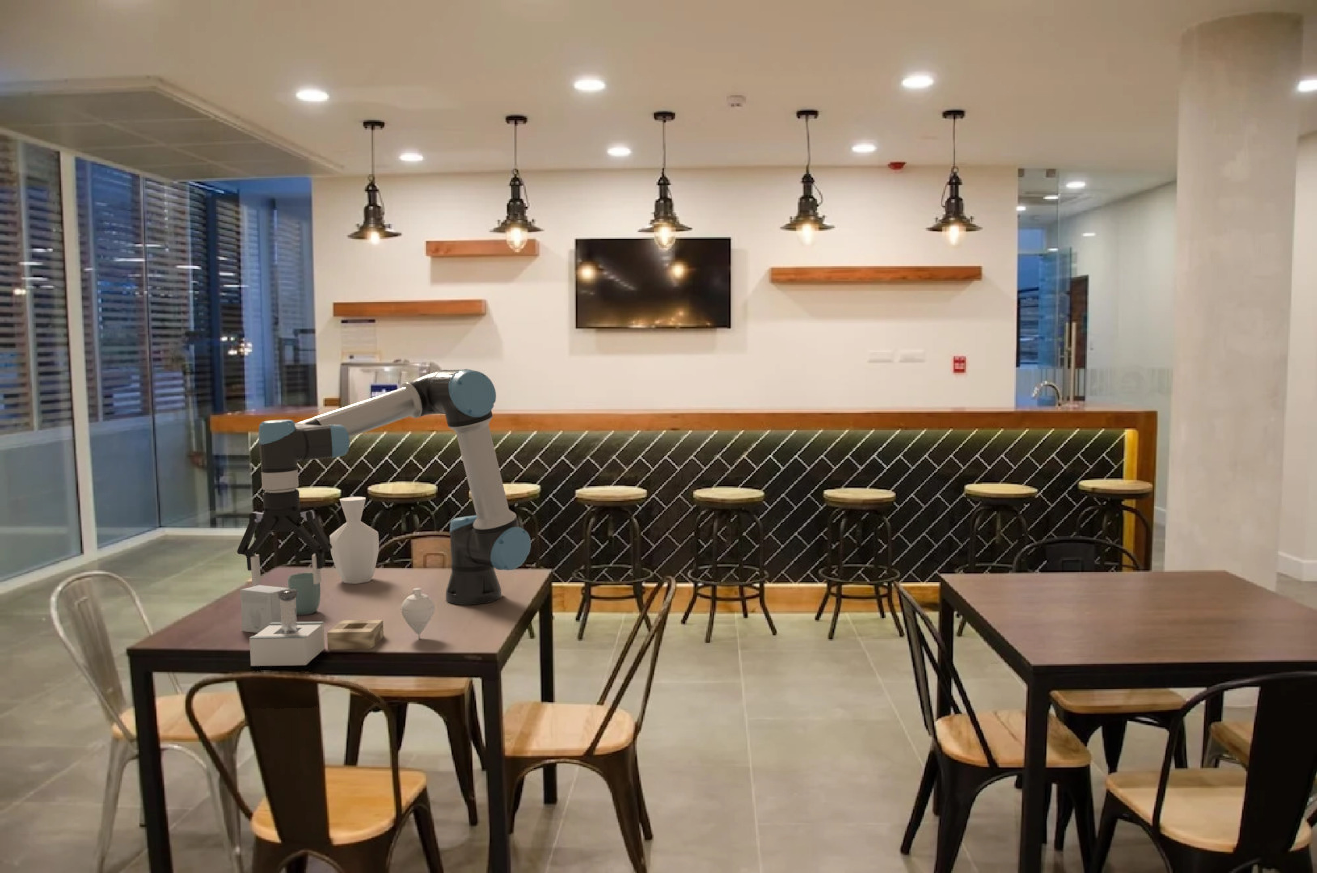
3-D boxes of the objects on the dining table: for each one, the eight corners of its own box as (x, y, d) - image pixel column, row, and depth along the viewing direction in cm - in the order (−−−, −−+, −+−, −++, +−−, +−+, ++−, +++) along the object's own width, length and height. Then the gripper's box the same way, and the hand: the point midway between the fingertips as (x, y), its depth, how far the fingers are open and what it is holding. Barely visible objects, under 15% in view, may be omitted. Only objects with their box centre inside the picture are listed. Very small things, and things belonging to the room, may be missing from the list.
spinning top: (409, 632, 229) (407, 584, 228) (439, 633, 228) (438, 584, 227) (397, 642, 222) (395, 592, 221) (428, 643, 221) (427, 592, 220)
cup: (310, 617, 244) (308, 579, 243) (283, 616, 246) (281, 578, 245) (326, 609, 252) (325, 572, 251) (300, 608, 253) (298, 572, 253)
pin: (302, 653, 214) (300, 589, 213) (296, 659, 210) (293, 593, 209) (285, 654, 214) (282, 589, 213) (278, 659, 210) (275, 593, 209)
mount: (383, 635, 227) (383, 619, 227) (371, 648, 217) (370, 631, 217) (342, 636, 227) (341, 620, 227) (327, 649, 217) (327, 632, 217)
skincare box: (292, 628, 235) (290, 587, 234) (272, 635, 229) (270, 593, 228) (261, 624, 239) (259, 583, 238) (240, 631, 233) (238, 589, 232)
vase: (390, 577, 288) (387, 496, 286) (358, 588, 275) (354, 503, 273) (354, 573, 294) (350, 494, 292) (320, 583, 281) (317, 501, 279)
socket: (324, 648, 218) (323, 621, 217) (305, 665, 206) (304, 636, 206) (273, 648, 218) (271, 622, 217) (250, 665, 206) (249, 637, 206)
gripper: (342, 485, 213) (348, 577, 215) (232, 488, 213) (238, 580, 215) (331, 490, 205) (337, 586, 207) (216, 494, 205) (223, 589, 207)
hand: (287, 583), depth 211 cm, fingers open, 13 cm apart
